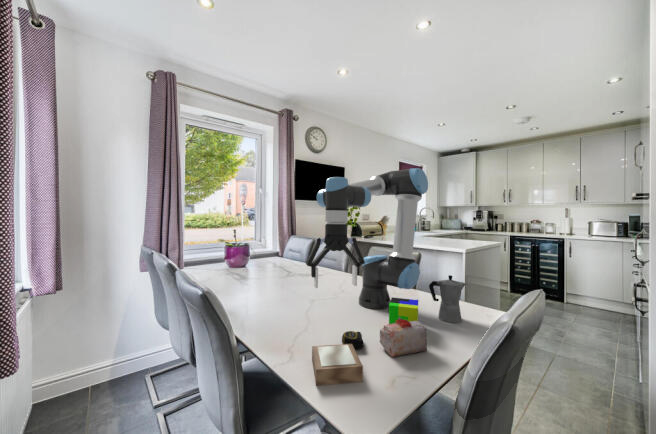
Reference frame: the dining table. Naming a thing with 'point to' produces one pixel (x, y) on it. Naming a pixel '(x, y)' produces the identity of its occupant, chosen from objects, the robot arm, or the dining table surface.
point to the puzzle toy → (403, 310)
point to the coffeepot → (448, 299)
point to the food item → (403, 337)
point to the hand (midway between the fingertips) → (335, 286)
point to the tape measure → (353, 339)
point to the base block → (336, 364)
